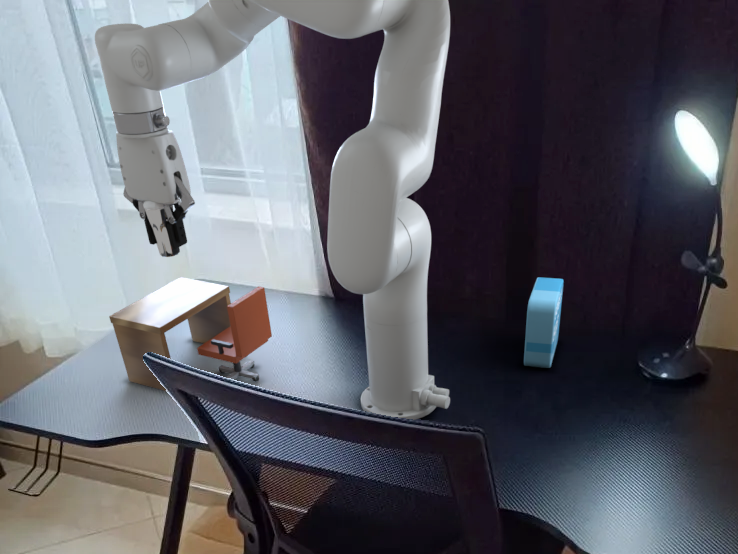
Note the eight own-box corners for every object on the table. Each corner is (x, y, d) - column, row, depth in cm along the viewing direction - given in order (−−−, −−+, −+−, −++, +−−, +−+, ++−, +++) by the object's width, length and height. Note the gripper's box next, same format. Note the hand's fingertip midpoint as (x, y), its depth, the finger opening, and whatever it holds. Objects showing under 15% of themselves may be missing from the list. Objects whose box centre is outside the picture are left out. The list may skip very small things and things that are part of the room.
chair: (279, 371, 137) (265, 286, 127) (247, 395, 131) (231, 308, 121) (236, 361, 141) (220, 277, 131) (203, 384, 134) (184, 298, 125)
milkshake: (188, 246, 132) (174, 184, 126) (179, 258, 128) (163, 194, 122) (163, 247, 133) (147, 185, 127) (152, 259, 129) (135, 195, 123)
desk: (240, 349, 144) (229, 286, 137) (176, 393, 132) (159, 327, 125) (194, 338, 149) (180, 276, 141) (128, 381, 137) (108, 316, 129)
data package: (549, 371, 133) (555, 304, 125) (523, 369, 134) (527, 302, 127) (558, 340, 142) (564, 275, 134) (533, 338, 143) (538, 274, 135)
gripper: (200, 120, 117) (222, 243, 129) (117, 112, 124) (146, 230, 135) (166, 132, 112) (193, 258, 124) (82, 123, 119) (115, 244, 130)
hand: (168, 242), depth 129 cm, fingers closed on milkshake, 4 cm apart
